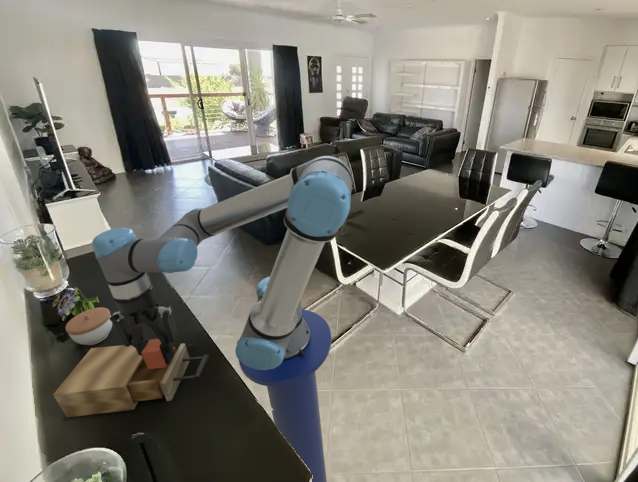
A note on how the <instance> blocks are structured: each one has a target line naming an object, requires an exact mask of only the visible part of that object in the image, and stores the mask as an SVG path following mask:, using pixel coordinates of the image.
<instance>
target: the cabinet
mask: <svg viewBox="0 0 638 482" xmlns="http://www.w3.org/2000/svg"><path fill="white" fill-rule="evenodd" d="M142 360H143V358H142V355H140V356H139V355H138V352H137V350H136V348H134V347H133V346H129V347H126V346H125V345H124V344H120V345H112V346H101V347H99V346H98V347H91V348H90V349H89V350H88V351H87V353H86V354H85V355H84V356H83V357H82V359H81V360H80V361H79V363H78V364H77V365H76V366H75V367H74V368H73V369H72V371H71V372H70V373H69V374H68V376H67V377H66V378H65V379H64V380H63V381H62V383H61V384H60V385H59V387H58V388H57V389H56V390H55V391H54V393H53V394H52V395H53V397H54V398H55V401H56V402H57V404H58V405H59V408H61V410H62V412H63V413H64V416H65V417H66V418H75V417H83V416H91V415H100V414H108V413H117V412H125V411H134V410H135V409H136V407H137V405H138V404H139V402H140V401H135V402H133V400H132V397H131V395H130V393H129V391H128V389H127V384H128V383H129V381H130V379H131V378H132V376H133V374H134V373H135V371H136V370H137V368H138V366H139V365H140V363H141V362H142Z"/></svg>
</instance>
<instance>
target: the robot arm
mask: <svg viewBox="0 0 638 482" xmlns="http://www.w3.org/2000/svg"><path fill="white" fill-rule="evenodd" d="M353 181H354V180H353V175H352V172H351V170H350V168H349V166H348V165H347V164H346V163H345V161H343V160H341V159H340V158H338V157H336V156H332V155H322V156H318V157H315V158H313V159H310V160H309V161H307V162H304V163H301V164H300V165H297V166H295V167H292V168H291V169H290V171H289V174H286V175H284V176H281V177H279V178H276V179H274V180H271V181H269V182H267V183H264V184H261V185H259V186H256V187H253V188H252V189H249V190H247V191H244V192H241V193H239V194H236V195H234V196H231V197H229V198H227V199H224V200H222V201H219V202H217V203H213V204H212V205H209V206H206V207H196V208H193V209H191V210H190V211H188V212H187V213H185V214H184V215H183V216H182V217H181V218H180V219H179V220H178V221H176V222H175V223H174V224H173V225H172V226H171V227H170V228H168V229H167V230H166V231H165V232H163V233H162V234H161V235H160V236H159V237H157V238H137V235H136V234H135V232H134V230H133V229H132V228H128V227H116V228H111V229H108V230H105V231H102V232H101V233H99V234H98V235H95V237H94V238H93V239H92V241H91V244H92V248H93V252H94V255H95V257H94V258H95V259H96V260H97V262H98V265H99V266H100V269H101V271H102V273H103V276H104V277H105V280H106V284H107V285H108V289H109V291H110V293H111V297H112V298H113V299H114V302H115V305H116V307H117V309H116V310H115V311H114V312H113V313H112V314H111V317H110V318H109V319H110V321H111V322H112V324H113V325H114V327H115V328H116V330H117V332H118V334H119V336H120V340H121V341H122V343H123V345H125V346H126V347H129V346H133V347H134V348H136V350H137V352H138V355H139V356H140V355H142V353H141V352H142V351H143V349H144V348H145V346H146V345H147V343H148V341H149V340H148V339H146V338H145V335H144V329H143V324H145V325H146V326H147V328H150V329H151V330H152V332H153V333H154V334H155V336H156V337H157V339H159V340H160V342H161V344H160V346H159V347H160V349H161V352H162V354H163V357H164V360H165V363H166V364H169V363H170V361H171V360H172V358H173V356H174V355H173V352H172V349H173V347H175V346H174V344H173V343H174V342H175V340H176V338H177V336H178V335H179V332H178V330H177V326H176V323H175V319H174V316H173V309H174V307H173V306H172V305H168V306H167V307H166V306H161V304H160V303H159V302H158V301H157V295H156V292H155V289H154V287H153V284H152V281H151V277H150V275H149V273H164V274H165V273H166V274H173V273H182V272H187V271H190V270H191V269H192V268H193V267H194V266H195V264H196V260H197V259H198V247H199V245H200V244H201V243H202V242H203V241H204V240H207V239H209V238H212V237H215V236H217V235H219V234H222V233H225V232H227V231H229V230H233V229H235V228H238V227H240V226H244V225H245V224H248V223H251V222H255V221H256V220H259V219H262V218H265V217H267V216H269V215H271V214H275V213H277V212H280V211H283V210H285V209H286V211H285V214H284V216H283V224H284V226H285V227H286V229H287V230H286V232H285V235H284V238H283V240H282V243H281V246H280V249H279V251H278V254H277V256H276V259H275V262H274V265H273V267H272V270H271V273H270V276H267V277H265V278H263V279H262V280H260V281H259V282H258V283H257V285H256V291H255V293H256V296H257V301H256V302H255V303H254V305H253V306H252V307H251V309H250V311H249V314H248V316H247V320H246V323H245V325H244V328H243V331H242V333H241V335H240V338H239V339H238V340H237V341H236V347H235V356H236V358H237V360H238V361H239V360H240V361H241V362H242V363H243V364H244V365H246V366H248V367H250V368H253V369H257V370H268V369H274V368H276V367H278V366H279V365H280V364H281V363H282V361H286V360H290V359H293V358H295V357H297V356H298V355H300V354H301V355H302V357H303V356H304V355H305V354H304V353H303V352H304V351H305V349H306V348H307V347H308V345H309V343H310V338H311V336H310V329H309V327H308V325H307V323H306V322H305V320H304V318H303V317H302V301H301V299H302V297H303V295H304V292H305V290H306V288H307V285H308V283H309V281H310V279H311V276H312V274H313V271H314V269H315V266H316V264H317V262H318V260H319V258H320V255H321V253H322V251H323V248H324V246H325V244H326V243H329V242H332V241H333V240H334V239H335V238H336V236H337V233H338V231H339V229H340V228H341V227H342V226H343V225H344V223H345V221H346V220H347V218H348V216H349V213H350V210H351V203H352V200H351V199H352V198H351V197H352V189H353V183H354V182H353ZM160 318H161V319H160ZM142 358H143V356H142ZM143 360H144V358H143ZM144 363H145V361H144ZM145 365H146V363H145Z"/></svg>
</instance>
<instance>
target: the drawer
mask: <svg viewBox="0 0 638 482" xmlns="http://www.w3.org/2000/svg"><path fill="white" fill-rule="evenodd" d="M172 352H173V355H174V356H173V358H172V360H171V361H170V363H169V364H167V365H166V367H164V368H155V369H148V368H147V366H146V365H145V363H144V360H142V362H141V363H140V365H139V366H138V368H137V370H136V371H135V373H134V374H133V376H132V378H131V379H130V381H129V383H128V384H127V389H128V391H129V393H130V395H131V397H132V400H133V402H135V401H139V402H143V401H144V402H145V401H151V400H160V399H163V398H165V400H166V402H170V401H172V400H173V399H174V396H175V394H176V392H177V390H178V388H179V385H180V383H181V381H186V380H195V381H199V380H200V379H201V377H202V374H203V372H204V369H205V368H206V364H207V363H208V359H209V355H208V354H203V356H195V357H194V356H193V357H190V355H189V352H188V349H187V346H186V343H184V342H183V343H180V344H179V346H178V348H177V349H176V347H175V346H174V347H173V349H172ZM191 361H192V362H194V361H200V362H199V364H198V367H197V370H196V371H195V374H194V375H186V376H185V373H186V370H187V368H188V366H189V364H190V362H191Z"/></svg>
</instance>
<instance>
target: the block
mask: <svg viewBox="0 0 638 482" xmlns="http://www.w3.org/2000/svg"><path fill="white" fill-rule="evenodd" d="M160 344H161V342H160V340H159V339H158V338H151V339H149V340H148V343H147V345H146V346H145V348H144V349H143V351H142V352H141V353H142V356H143V358H144V361H145V363H146V366H147V368H148V369H155V368H164V367H166V365H167V364H166V363H165V360H164V357H163V354H162V352H161V349H160V347H159V346H160Z"/></svg>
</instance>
